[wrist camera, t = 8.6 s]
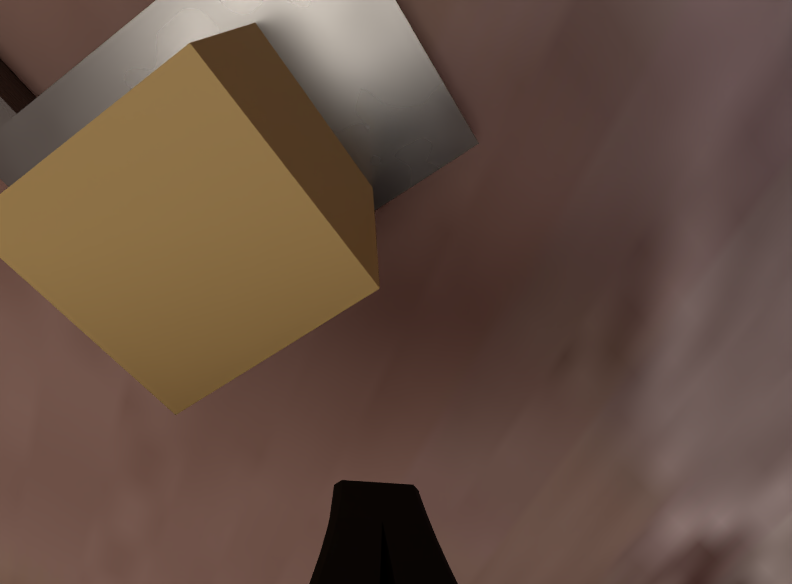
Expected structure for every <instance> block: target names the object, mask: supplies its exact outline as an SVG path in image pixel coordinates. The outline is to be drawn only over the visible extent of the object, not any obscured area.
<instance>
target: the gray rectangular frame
mask: <svg viewBox="0 0 792 584" xmlns="http://www.w3.org/2000/svg"><path fill="white" fill-rule="evenodd" d="M252 23H256V24H257V26H258V27H259V29H260V30H261V31H262V33H263V34H264V36H265V37H266V38H267V40H268V41H269V43H270V44H271V45H272V47H273V48H274V50H275V51H276V52H277V54H278V55H279V57H280V58H281V59H282V61H283V62H284V64H285V65H286V67H287V68H288V69H289V71H290V72H291V74H292V75H293V76H294V78H295V79H296V81H297V82H298V83H299V85H300V86H301V88H302V89H303V90H304V92H305V93H306V95H307V96H308V97H309V99H310V100H311V102H312V103H313V105H314V106H315V107H316V109H317V110H318V112H319V113H320V114H321V116H322V117H323V119H324V120H325V121H326V123H327V124H328V126H329V127H330V128H331V130H332V131H333V133H334V134H335V135H336V137H337V138H338V140H339V141H340V143H341V144H342V145H343V147H344V148H345V150H346V151H347V152H348V154H349V155H350V157H351V158H352V159H353V161H354V162H355V164H356V165H357V166H358V168H359V169H360V171H361V172H362V173H363V175H364V176H365V178H366V179H367V181H368V182H369V183H370V185H371V186H372V188H373V199H374V211H375V210H377V209H378V208H380V207H381V206H383V205H384V204H386V203H387V202H389V201H390V200H392V199H394V198H395V197H397V196H398V195H400V194H401V193H403V192H404V191H406V190H408V189H409V188H411V187H412V186H414V185H415V184H417V183H418V182H420V181H421V180H423V179H425V178H426V177H428V176H429V175H431V174H432V173H434V172H435V171H437V170H438V169H440V168H442V167H443V166H445V165H446V164H448V163H449V162H451V161H452V160H454V159H456V158H457V157H459V156H460V155H462V154H463V153H465V152H466V151H468V150H469V149H471V148H473V147H474V146H476V145H477V144H479V143H478V142H477V140H476V138H475V136H474V135H473V133H472V131H471V129H470V128H469V126H468V124H467V123H466V121H465V119H464V117H463V116H462V114H461V112H460V111H459V109H458V107H457V105H456V104H455V102H454V100H453V98H452V97H451V95H450V93H449V92H448V90H447V88H446V86H445V85H444V83H443V81H442V80H441V78H440V76H439V74H438V73H437V71H436V69H435V67H434V66H433V64H432V62H431V61H430V59H429V57H428V55H427V54H426V52H425V50H424V49H423V47H422V45H421V43H420V42H419V40H418V38H417V36H416V35H415V33H414V31H413V30H412V28H411V26H410V24H409V23H408V21H407V19H406V18H405V16H404V14H403V12H402V11H401V9H400V7H399V5H398V4H397V2H396V0H156V1H155V2H153V3H152V4H151V5H150V6H148V7H147V8H146V9H145V10H144V11H142V12H141V13H140V14H139V15H137V16H136V17H135V18H134V19H133V20H131V21H130V22H129V23H128V24H126V25H125V26H124V27H123V28H122V29H120V30H119V31H118V32H117V33H115V34H114V35H113V36H112V37H111V38H109V39H108V40H107V41H106V42H104V43H103V44H102V45H101V46H99V47H98V48H97V49H96V50H95V51H93V52H92V53H91V54H90V55H88V56H87V57H86V58H85V59H84V60H82V61H81V62H80V63H79V64H77V65H76V66H75V67H74V68H73V69H71V70H70V71H69V72H68V73H66V74H65V75H64V76H63V77H62V78H60V79H59V80H58V81H57V82H55V83H54V84H53V85H52V86H51V87H49V88H48V89H47V90H46V91H44V92H43V93H42V94H41V95H40V96H38V97H37V98H36V97H35V96H34V95H33V94H32V93H31V92H30V91H29V90H28V89H27V88H26V87H25V86H24V85H23V83H22V82H21V81H20V80H19V79H18V78H17V77H16V76H15V75H14V74H13V73H12V72H11V70H10V69H9V68H8V67H7V66H6V65H5V64H4V63H3V62H2V61H1V60H0V179H1V180H2V181H3V182H4V183H5V184H6V185H7V186H8V187H10V186H11V185H12V184H13V183H15V182H16V181H17V180H18V179H20V178H21V177H22V176H23V175H25V174H26V173H27V172H28V171H30V170H31V169H32V168H33V167H35V166H36V165H37V164H38V163H40V162H41V161H42V160H43V159H45V158H46V157H47V156H49V155H50V154H51V153H52V152H54V151H55V150H56V149H57V148H59V147H60V146H61V145H62V144H64V143H65V142H66V141H67V140H69V139H70V138H71V137H72V136H74V135H75V134H76V133H77V132H79V131H80V130H81V129H82V128H84V127H85V126H86V125H87V124H89V123H90V122H91V121H92V120H94V119H95V118H96V117H97V116H99V115H100V114H101V113H102V112H104V111H105V110H106V109H107V108H109V107H110V106H111V105H112V104H114V103H115V102H116V101H117V100H119V99H120V98H121V97H122V96H124V95H125V94H126V93H127V92H129V91H130V90H131V89H132V88H134V87H135V86H136V85H137V84H139V83H140V82H141V81H142V80H144V79H145V78H146V77H147V76H149V75H150V74H151V73H152V72H154V71H155V70H156V69H157V68H159V67H160V66H161V65H162V64H164V63H165V62H166V61H168V60H169V59H170V58H171V57H173V56H174V55H175V54H176V53H178V52H179V51H180V50H181V49H183V48H184V47H185V46H186V45H188V44H189V43H191V42H194V41H197V40H200V39H204V38H207V37H210V36H213V35H217V34H220V33H223V32H226V31H230V30H233V29H236V28H239V27H242V26H246V25H249V24H252Z"/></svg>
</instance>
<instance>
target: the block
mask: <svg viewBox="0 0 792 584" xmlns="http://www.w3.org/2000/svg"><path fill="white" fill-rule="evenodd" d="M0 258H1V259H2V260H3V261H4V262H6V263H7V264H8V265H9V266H10V267H11V268H12V269H13V270H14V271H16V272H17V273H18V274H19V275H20V276H21V277H22V278H23V279H24V280H26V281H27V282H28V283H29V284H30V285H31V286H32V287H33V288H35V289H36V290H37V291H38V292H39V293H40V294H41V295H42V296H43V297H45V298H46V299H47V300H48V301H49V302H50V303H51V304H52V305H53V306H55V307H56V308H57V309H58V310H59V311H60V312H61V313H62V314H64V315H65V316H66V317H67V318H68V319H69V320H70V321H71V322H72V323H74V324H75V325H76V326H77V327H78V328H79V329H80V330H81V331H83V332H84V333H85V334H86V335H87V336H88V337H89V338H90V339H91V340H93V341H94V342H95V343H96V344H97V345H98V346H99V347H100V348H101V349H103V350H104V351H105V352H106V353H107V354H108V355H109V356H110V357H112V358H113V359H114V360H115V361H116V362H117V363H118V364H119V365H120V366H122V367H123V368H124V369H125V370H126V371H127V372H128V373H129V374H130V375H132V376H133V377H134V378H135V379H136V380H137V381H138V382H139V383H141V384H142V385H143V386H144V387H145V388H146V389H147V390H148V391H149V392H151V393H152V394H153V395H154V396H155V397H156V398H157V399H158V400H159V401H161V402H162V403H163V404H164V405H165V406H166V407H167V408H168V409H170V410H171V411H172V412H173V413H174V414H175V415H176V414H178V413H180V412H181V411H183V410H185V409H186V408H188V407H189V406H191V405H193V404H194V403H196V402H197V401H199V400H201V399H202V398H204V397H206V396H207V395H209V394H210V393H212V392H214V391H215V390H217V389H218V388H220V387H222V386H223V385H225V384H226V383H228V382H230V381H231V380H233V379H235V378H236V377H238V376H239V375H241V374H243V373H244V372H246V371H247V370H249V369H251V368H252V367H254V366H255V365H257V364H259V363H260V362H262V361H264V360H265V359H267V358H268V357H270V356H272V355H273V354H275V353H276V352H278V351H280V350H281V349H283V348H285V347H286V346H288V345H289V344H291V343H293V342H294V341H296V340H297V339H299V338H301V337H302V336H304V335H305V334H307V333H309V332H310V331H312V330H314V329H315V328H317V327H318V326H320V325H322V324H323V323H325V322H326V321H328V320H330V319H331V318H333V317H335V316H336V315H338V314H339V313H341V312H343V311H344V310H346V309H347V308H349V307H351V306H352V305H354V304H355V303H357V302H359V301H360V300H362V299H364V298H365V297H367V296H368V295H370V294H372V293H373V292H375V291H376V290H378V289H380V284H379V270H378V256H377V242H376V228H375V213H374V199H373V188H372V186H371V185H370V183H369V182H368V181H367V179H366V178H365V176H364V175H363V173H362V172H361V171H360V169H359V168H358V166H357V165H356V164H355V162H354V161H353V159H352V158H351V157H350V155H349V154H348V152H347V151H346V150H345V148H344V147H343V145H342V144H341V143H340V141H339V140H338V138H337V137H336V135H335V134H334V133H333V131H332V130H331V128H330V127H329V126H328V124H327V123H326V121H325V120H324V119H323V117H322V116H321V114H320V113H319V112H318V110H317V109H316V107H315V106H314V105H313V103H312V102H311V100H310V99H309V97H308V96H307V95H306V93H305V92H304V90H303V89H302V88H301V86H300V85H299V83H298V82H297V81H296V79H295V78H294V76H293V75H292V74H291V72H290V71H289V69H288V68H287V67H286V65H285V64H284V62H283V61H282V59H281V58H280V57H279V55H278V54H277V52H276V51H275V50H274V48H273V47H272V45H271V44H270V43H269V41H268V40H267V38H266V37H265V36H264V34H263V33H262V31H261V30H260V29H259V27H258V26H257V24H256V23H252V24H249V25H246V26H242V27H239V28H236V29H233V30H230V31H226V32H223V33H220V34H217V35H213V36H210V37H207V38H204V39H200V40H197V41H194V42H191V43H189V44H188V45H186V46H185V47H184V48H183V49H181V50H180V51H179V52H178V53H176V54H175V55H174V56H173V57H171V58H170V59H169V60H168V61H166V62H165V63H164V64H162V65H161V66H160V67H159V68H157V69H156V70H155V71H154V72H152V73H151V74H150V75H149V76H147V77H146V78H145V79H144V80H142V81H141V82H140V83H139V84H137V85H136V86H135V87H134V88H132V89H131V90H130V91H129V92H127V93H126V94H125V95H124V96H122V97H121V98H120V99H119V100H117V101H116V102H115V103H114V104H112V105H111V106H110V107H109V108H107V109H106V110H105V111H104V112H102V113H101V114H100V115H99V116H97V117H96V118H95V119H94V120H92V121H91V122H90V123H89V124H87V125H86V126H85V127H84V128H82V129H81V130H80V131H79V132H77V133H76V134H75V135H74V136H72V137H71V138H70V139H69V140H67V141H66V142H65V143H64V144H62V145H61V146H60V147H59V148H57V149H56V150H55V151H54V152H52V153H51V154H50V155H49V156H47V157H46V158H45V159H43V160H42V161H41V162H40V163H38V164H37V165H36V166H35V167H33V168H32V169H31V170H30V171H28V172H27V173H26V174H25V175H23V176H22V177H21V178H20V179H18V180H17V181H16V182H15V183H13V184H12V185H11V186H10V187H8V188H7V189H6V190H5V191H3V192H2V193H1V194H0Z"/></svg>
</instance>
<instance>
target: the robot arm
mask: <svg viewBox="0 0 792 584" xmlns="http://www.w3.org/2000/svg"><path fill="white" fill-rule="evenodd" d="M309 584H458V583H457V581H456V579H455V577H454V575H453V573H452V571H451V569H450V567H449V565H448V562H447V560H446V558H445V556H444V554H443V551H442V549H441V547H440V545H439V542H438V540H437V538H436V535H435V533H434V531H433V528H432V526H431V523H430V521H429V518H428V516H427V513H426V511H425V508H424V505H423V503H422V500H421V497H420V494H419V491H418V490H417V488H416V487H415V486H414V485H409V484H394V483H378V482H363V481H347V480H341V481H340V482H338V483H336V484H335V485H334V490H333V498H332V505H331V512H330V519H329V523H328V527H327V531H326V535H325V538H324V542H323V545H322V548H321V552H320V555H319V558H318V561H317V564H316V566H315V569H314V572H313V575H312V578H311V581H310V583H309Z"/></svg>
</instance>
